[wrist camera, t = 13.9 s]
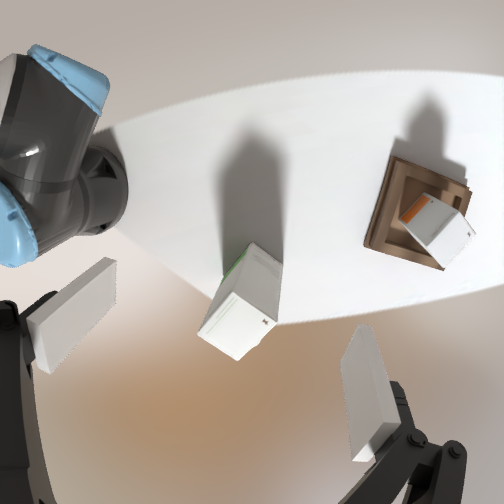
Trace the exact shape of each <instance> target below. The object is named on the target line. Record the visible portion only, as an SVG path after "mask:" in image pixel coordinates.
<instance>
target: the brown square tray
mask: <svg viewBox="0 0 504 504" xmlns="http://www.w3.org/2000/svg"><path fill="white" fill-rule="evenodd" d="M423 192H425V193H427V194H429V195H431V196H433V197H435V198H436V199H438V200H440V201H442V202H444V203H446V204H448V205H449V206H451V207H453V208H455V209H457V210H458V211H460V213H461V214H462V215H463V217H465V214H466V211H467V208H468V205H469V202H470V198H471V195H472V192H471V191H469V187H467V186H465V185H463V184H461V183H458V182H456V181H454V180H452V179H449V178H447V177H445V176H442V175H440V174H438V173H435V172H433V171H431V170H428V169H426V168H423V167H421V166H418V165H416V164H413V163H410V162H408V161H405V160H402V159H400V158H397V157H394V156H391V158H390V161H389V165H388V168H387V172H386V175H385V179H384V182H383V186H382V189H381V192H380V196H379V199H378V202H377V205H376V209H375V212H374V215H373V218H372V221H371V224H370V227H369V230H368V233H367V236H366V239H365V242H364V247H366V248H369V249H372V250H375V251H378V252H382V253H385V254H389V255H392V256H395V257H399V258H402V259H406V260H409V261H412V262H416V263H419V264H422V265H425V266H429V267H432V268H435V269H438V270H442V271H444V269H445V268H443V267H442V266H441V265H440V264H439V263H438V262H437V261H436V260H435V259H434V258H433V257H432V256H431V255H430V254H429V252H428V251H427V250H426V249H425V248H424V247H423V246H422V245H421V244H420V243H419V242H418V241H417V240H416V239H415V238H414V237H413V236H412V235H411V234H410V233H409V232H408V230H407V229H406V228H405V227H404V226H403V225H402V223H401V222H400V221H399V220H398V219H399V218H400V217H401V216H402V215H403V214H404V213H405V212H406V211H407V210H408V209H409V208H410V207H411V206H412V205H413V204H414V202H415V201H416V200H417V199H418V198H419V197H420V196H421V195H422V193H423Z"/></svg>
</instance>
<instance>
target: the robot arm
mask: <svg viewBox="0 0 504 504" xmlns="http://www.w3.org/2000/svg"><path fill="white" fill-rule="evenodd" d="M27 54H28V55H21V54H15V53H12V54H11V55H9V56H7V57H6V58H4V59H3V60H2V61H0V264H2V265H4V266H6V267H10V268H14V267H19V266H21V265H23V264H25V263H27V262H30V261H34V260H35V259H36V258H37V257H39V256H41V255H42V254H44V253H46V252H47V251H49V250H51V249H52V248H54V247H56V246H57V245H59V244H60V243H62V242H64V241H66V240H68V239H69V238H71V237H73V236H79V235H80V236H81V235H82V236H84V235H97V234H100V233H103V232H105V231H106V230H108V229H110V228H112V227H113V226H114V225H115V224H116V223H117V222H118V221H119V220H120V219H121V217H122V215H123V213H124V211H125V208H126V205H127V199H128V185H127V179H126V175H125V173H124V170H123V168H122V166H121V164H120V162H119V161H118V160H117V158H116V157H115V156H114V155H113V154H112V153H110V152H109V151H108V150H106V149H104V148H102V147H98V146H88V145H89V142H90V139H91V137H92V134H93V131H94V129H95V126H96V124H97V121H98V119H99V117H101V115H102V108H103V105H104V103H105V100H106V98H107V95H108V92H109V89H110V83H109V80H108V78H107V77H106V76H105V75H104V74H102V73H100V72H98V71H96V70H94V69H92V68H90V67H88V66H86V65H83V64H81V63H79V62H77V61H75V60H72V59H70V58H68V57H66V56H64V55H61V54H59V53H57V52H54V51H52V50H50V49H47V48H45V47H42V46H40V45H37V44H35V45H33V46H32V47H31V48H30V49H29V50H28V51H27ZM116 262H117V261H116V260H113V259H110V258H107V257H104V258H103V259H101V260H100V261H99V262H97V263H96V264H95V265H93V266H92V267H91V268H89V269H88V270H87V271H85V272H84V273H83V274H81V275H80V276H79V277H77V278H76V279H75V280H73V281H72V282H71V283H70V284H68V285H67V286H66V287H64V288H63V289H62V290H61V291H59V292H57V291H52V292H49V293H47V294H45V295H44V296H42V297H41V298H40V299H39V300H37V301H36V302H35V303H34V304H32V305H31V306H30V307H28V308H27V309H26V310H25V311H23V312H22V313H21V314H20V315H19V313H18V308H17V305H16V303H15V302H13V301H10V300H3V301H0V504H57V503H56V501H55V498H54V495H53V492H52V488H51V485H50V481H49V477H48V473H47V469H46V464H45V459H44V455H43V450H42V444H41V439H40V433H39V427H38V420H37V413H36V405H35V395H34V384H33V372H32V366H31V362H32V361H33V360H34V359H35V358H36V362H37V365H38V368H40V369H42V370H43V371H45V372H47V373H49V374H52V372H53V371H54V370H55V369H56V368H57V367H58V366H59V364H60V363H61V362H62V361H63V360H64V359H65V358H66V357H67V355H68V354H69V353H70V352H71V351H72V350H73V349H74V347H75V346H76V345H77V344H78V343H79V342H80V341H81V340H82V339H83V338H84V337H85V336H86V334H87V333H88V332H89V331H90V330H91V329H92V328H93V327H94V326H95V325H96V324H97V322H99V320H100V319H101V318H102V317H103V316H104V315H105V314H106V313H107V312H108V311H109V310H110V309H111V308H112V307H113V306H114V305H115V304H116ZM340 368H341V375H342V382H343V388H344V396H345V403H346V412H347V420H348V428H349V438H350V447H351V457H352V461H363V462H368V461H369V460H370V459H371V458H372V457H373V456H374V455H375V459H376V463H374V464H373V466H371V468H370V469H369V470H368V471H367V472H366V473H365V475H364V476H363V477H362V478H361V479H360V480H359V482H358V483H357V484H356V485H355V486H354V487H353V488H352V489H351V490H350V492H349V493H348V494H347V495H346V496H345V497H344V498H343V499H342V500H341V501H340V502H339V503H338V504H391V503H392V502H393V501H394V499H395V498H396V496H397V495H398V494H399V492H400V491H401V489H402V488H403V486H404V485H405V483H406V484H408V487H407V490H406V493H405V496H404V499H403V502H402V504H461V499H462V493H463V486H464V479H465V471H466V462H467V451H466V449H465V447H464V446H463V445H462V444H461V443H459V442H458V441H454V440H450V441H447V442H446V443H445V444H444V445H443V446H439V445H436V444H432V443H429V442H428V439H427V437H426V435H425V434H424V433H423V432H422V431H420V430H418V429H416V428H415V426H414V422H413V418H412V415H411V412H410V408H409V406H408V402H407V400H406V396H405V393H404V390H403V388H402V387H401V386H400V385H399V383H398V382H395V381H389V379H388V376H387V373H386V369H385V366H384V363H383V359H382V357H381V353H380V350H379V347H378V344H377V341H376V338H375V335H374V332H373V329H372V327H371V326H368V325H363V324H358V326H357V328H356V330H355V332H354V334H353V336H352V339H351V341H350V343H349V345H348V347H347V349H346V351H345V354H344V355H343V357H342V360H341V361H340Z"/></svg>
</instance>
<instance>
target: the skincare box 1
mask: <svg viewBox="0 0 504 504" xmlns="http://www.w3.org/2000/svg"><path fill="white" fill-rule="evenodd" d="M282 272H283V265H282V264H281V263H280V262H278V261H277V260H276V259H274V258H273V257H272V256H270V255H269V254H268V253H266V252H265V251H264V250H262V249H261V248H260V247H258V246H257V245H256V244H254V243H253V242H251V243H250V244H249V246H248V247H247V248H246V249H245V251H244V252H243V253H242V254H241V256H240V257H239V258H238V260H237V261H236V262H235V263H234V265H233V266H232V267H231V269H230V270H229V271H228V272H227V273H226V275H225V276H224V277H223V279H222V281H221V283H220V286H219V288H218V290H217V292H216V294H215V296H214V298H213V301H212V303H211V305H210V307H209V309H208V312H207V314H206V316H205V318H204V320H203V323H202V324H201V327H200V329H199V331H198V333H197V335H198V336H200V337H201V338H203V339H205V340H206V341H208V342H209V343H211V344H212V345H214V346H215V347H217V348H218V349H220V350H221V351H223V352H224V353H226V354H227V355H229V356H231V357H232V358H234V359H235V360H237V361H238V360H239V359H240V358H241V357H242V356H244V355H245V354H246V353H247V352H248V351H249V350H250V349H251V348H252V347H255V346H256V345H258V344H259V343H260V341H261V339H262V338H263V337H264V336H265V335H266V334H267V333H268V332H269V331H270V330H271V329H272V328H273V327H274V326H275V325H276V323H277V321H278V309H279V300H280V291H281V281H282Z"/></svg>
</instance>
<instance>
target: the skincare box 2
mask: <svg viewBox="0 0 504 504" xmlns="http://www.w3.org/2000/svg"><path fill="white" fill-rule="evenodd" d="M398 220H399V221H400V222H401V223H402V225H403V226H404V227H405V228H406V229H407V230H408V232H409V233H410V234H411V235H412V236H413V237H414V238H415V239H416V240H417V241H418V242H419V243H420V244H421V245H422V246H423V247H424V248H425V249H426V250H427V251H428V252H429V254H430V255H431V256H432V257H433V258H434V259H435V260H436V261H437V262H438V263H439V264H440V265H441V266H442V267H443V268H445V267H446V266H447V265H448V264H449V263H450V262H451V261H452V260H453V259H454V258H455V257H456V256H457V255H458V254H459V253H460V252H461V251H462V250H463V249H464V248H465V246H466V245H467V244H468V243H469V242H470V241H471V240H472V239H473V237H474V236H475V235H476V233H475V232H474V230H473V229H472V228H471V226H470V225H469V223H468V222H467V221H466V219H465V218H464V217H463V215H462V214H461V213H460V211H458V210H457V209H455V208H453V207H451V206H449V205H448V204H446V203H444V202H442V201H440V200H438V199H436V198H435V197H433V196H431V195H429V194H427V193H425V192H423V193H422V195H421V196H420V197H419V198H418V199H417V200H416V201H415V202H414V204H413V205H412V206H411V207H410V208H409V209H408V210H407V211H406V212H405V213H404V214H403V215H402V216H401V217H400V218H399V219H398Z"/></svg>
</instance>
